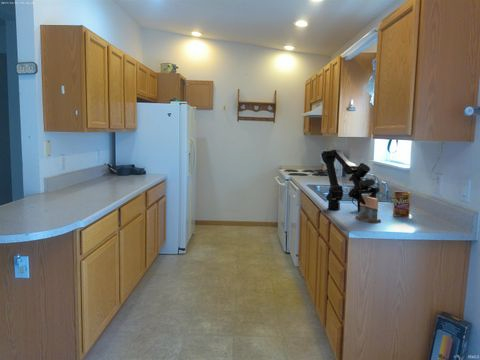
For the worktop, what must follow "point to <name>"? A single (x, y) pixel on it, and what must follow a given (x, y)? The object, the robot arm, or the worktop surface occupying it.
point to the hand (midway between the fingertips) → (370, 204)
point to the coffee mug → (358, 202)
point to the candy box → (401, 204)
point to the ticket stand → (368, 214)
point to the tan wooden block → (370, 202)
